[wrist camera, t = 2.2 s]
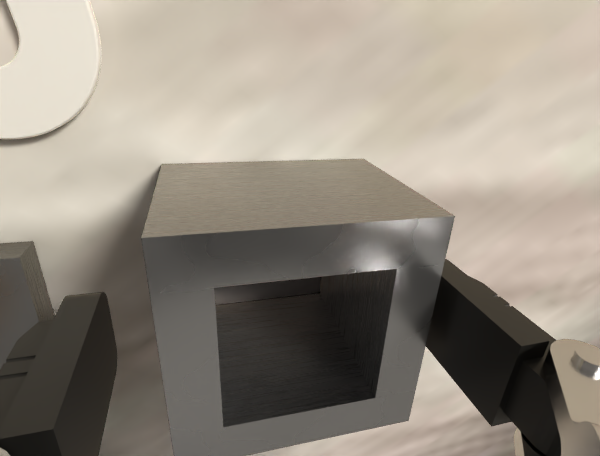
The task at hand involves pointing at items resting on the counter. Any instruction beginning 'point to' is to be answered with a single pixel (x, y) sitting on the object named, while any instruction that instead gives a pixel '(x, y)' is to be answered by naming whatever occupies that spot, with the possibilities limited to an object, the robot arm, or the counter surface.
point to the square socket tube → (289, 300)
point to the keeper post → (20, 294)
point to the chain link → (49, 66)
